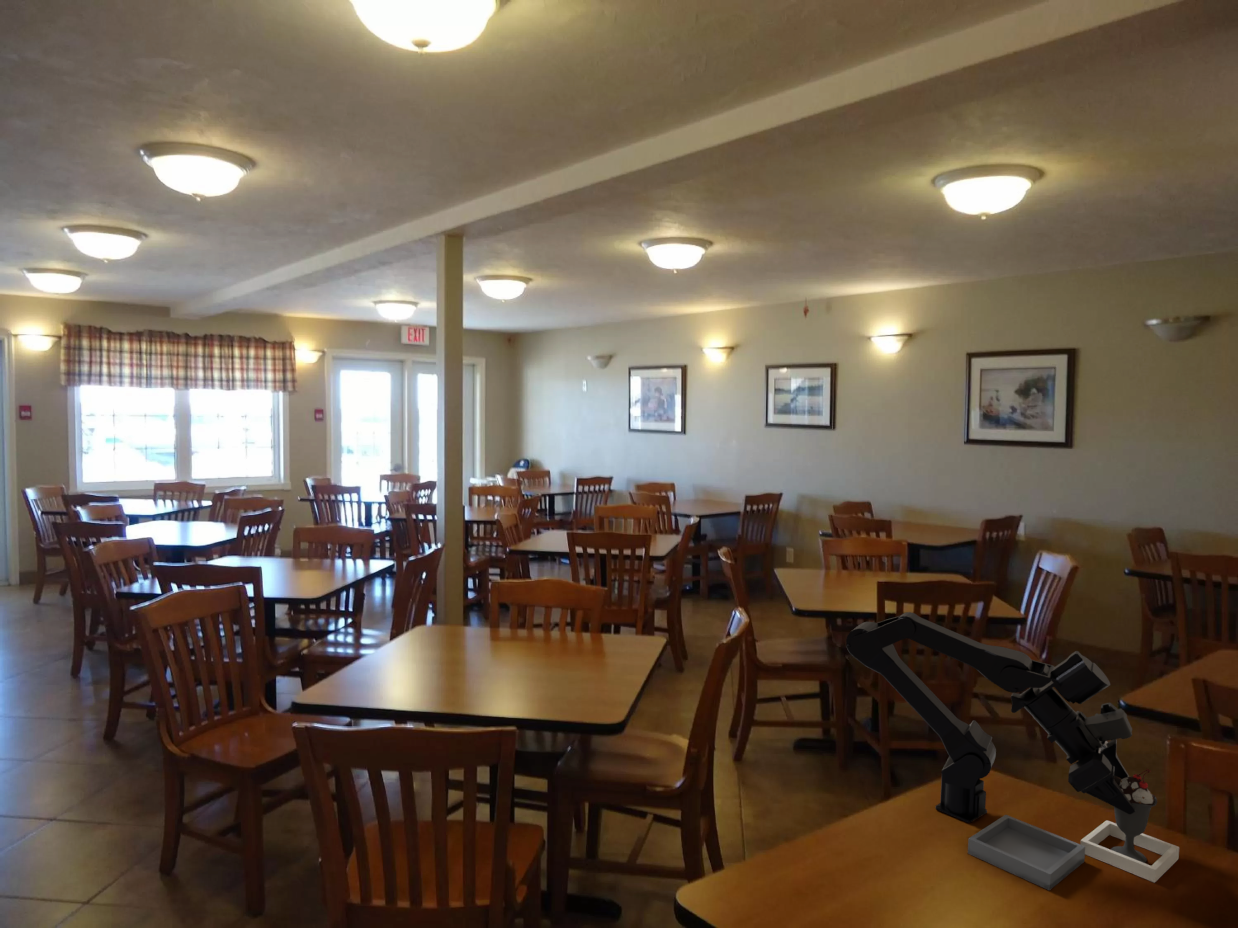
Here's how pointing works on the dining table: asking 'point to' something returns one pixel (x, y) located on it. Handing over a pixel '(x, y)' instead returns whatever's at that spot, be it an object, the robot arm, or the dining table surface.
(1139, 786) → the sundae
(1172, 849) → the white square frame
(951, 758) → the robot arm
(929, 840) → the dining table surface
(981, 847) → the tray
